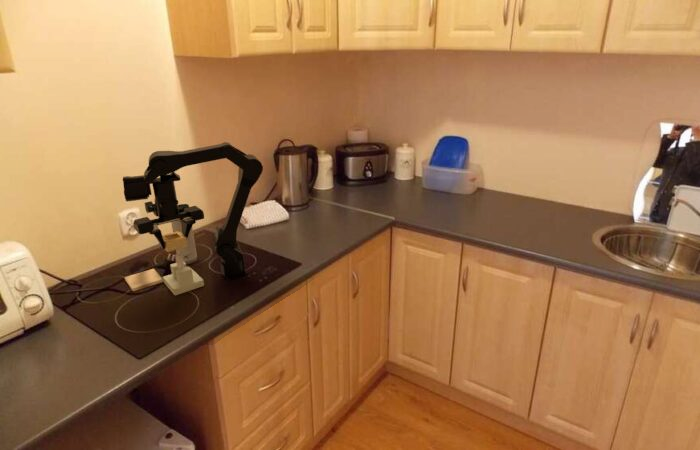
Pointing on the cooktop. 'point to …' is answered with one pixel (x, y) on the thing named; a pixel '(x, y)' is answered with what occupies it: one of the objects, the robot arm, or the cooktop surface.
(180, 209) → the travel mug
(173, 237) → the collar
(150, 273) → the pad
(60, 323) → the cooktop surface
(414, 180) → the cooktop surface
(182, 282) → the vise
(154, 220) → the robot arm
